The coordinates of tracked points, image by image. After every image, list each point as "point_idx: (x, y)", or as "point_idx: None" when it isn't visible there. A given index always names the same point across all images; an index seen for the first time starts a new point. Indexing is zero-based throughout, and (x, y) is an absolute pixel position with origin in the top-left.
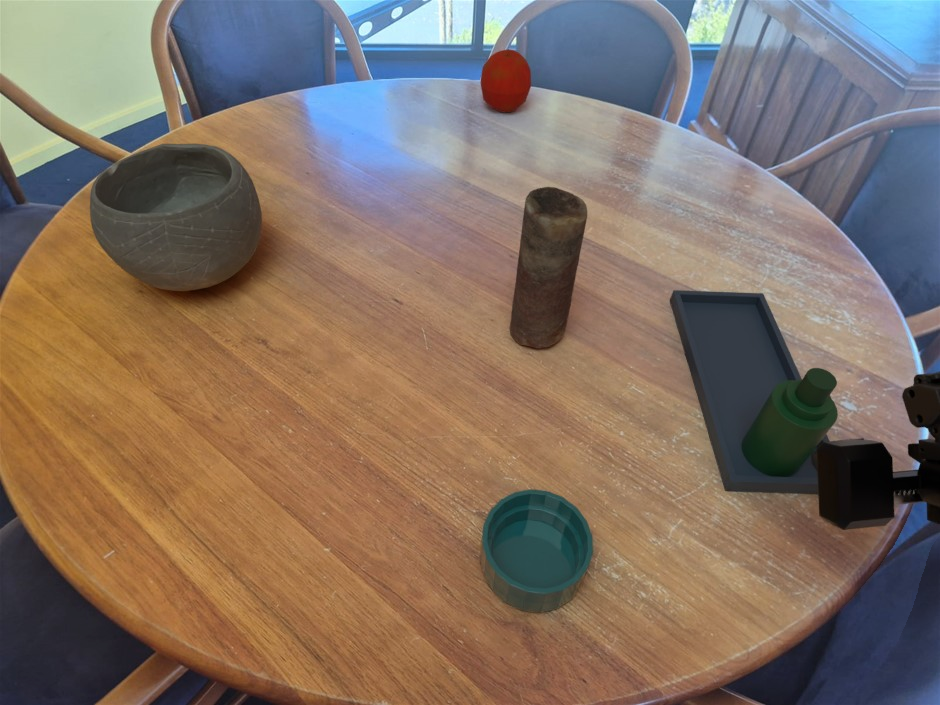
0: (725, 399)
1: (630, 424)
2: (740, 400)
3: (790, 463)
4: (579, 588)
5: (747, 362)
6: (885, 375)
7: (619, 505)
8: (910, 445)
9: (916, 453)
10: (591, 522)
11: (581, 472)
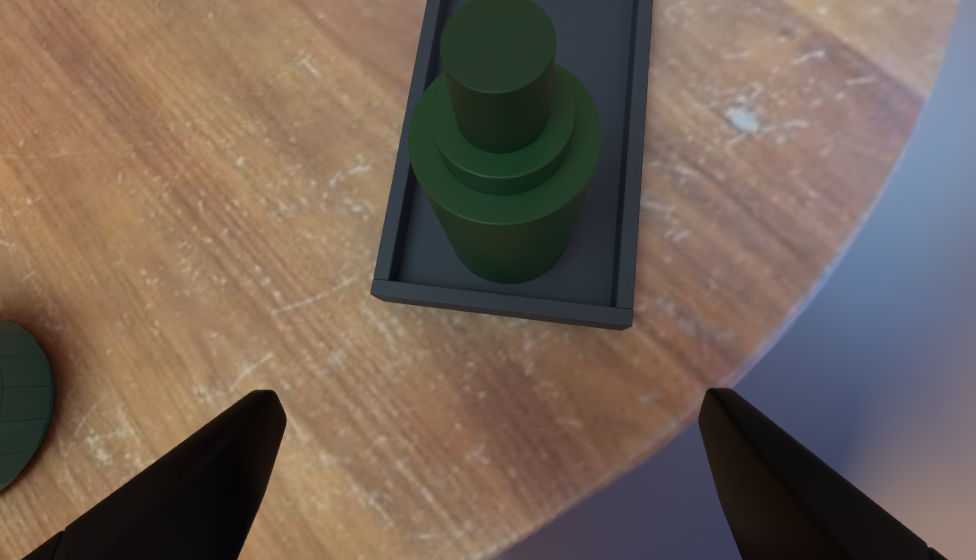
0: None
1: (264, 143)
2: None
3: (499, 270)
4: (3, 485)
5: (558, 8)
6: (869, 46)
7: (170, 314)
8: (713, 399)
9: (719, 447)
10: (106, 344)
11: (132, 239)
